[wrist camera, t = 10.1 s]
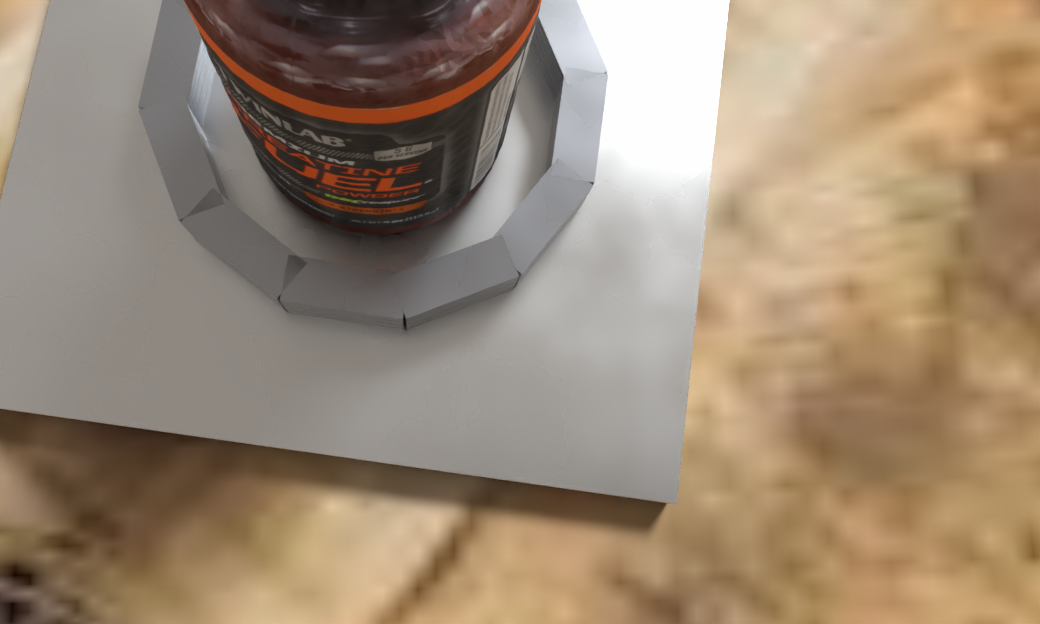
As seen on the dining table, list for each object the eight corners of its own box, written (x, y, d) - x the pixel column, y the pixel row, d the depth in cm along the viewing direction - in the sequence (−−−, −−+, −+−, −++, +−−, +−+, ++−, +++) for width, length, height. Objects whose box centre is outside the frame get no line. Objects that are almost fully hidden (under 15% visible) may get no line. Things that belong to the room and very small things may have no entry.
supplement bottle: (224, 215, 22) (30, -58, 11) (281, -20, 23) (156, -483, 12) (482, 265, 22) (545, 51, 11) (526, 32, 24) (621, -370, 13)
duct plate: (667, 503, 23) (694, 505, 21) (-33, 404, 22) (-86, 394, 19) (731, -104, 26) (761, -160, 24) (120, -221, 25) (91, -292, 22)
